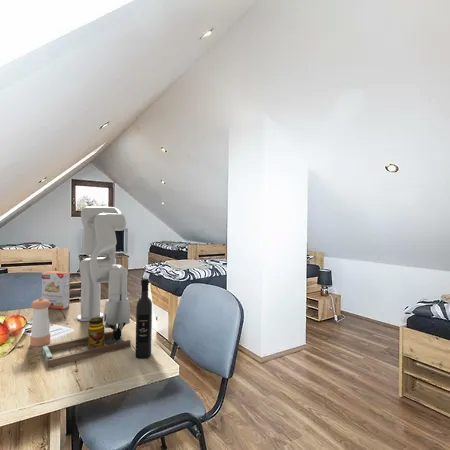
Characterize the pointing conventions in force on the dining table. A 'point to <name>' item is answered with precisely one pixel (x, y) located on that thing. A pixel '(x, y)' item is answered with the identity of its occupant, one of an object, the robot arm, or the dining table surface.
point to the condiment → (95, 333)
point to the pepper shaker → (40, 323)
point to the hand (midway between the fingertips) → (117, 339)
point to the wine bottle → (143, 323)
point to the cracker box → (56, 288)
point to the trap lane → (75, 356)
